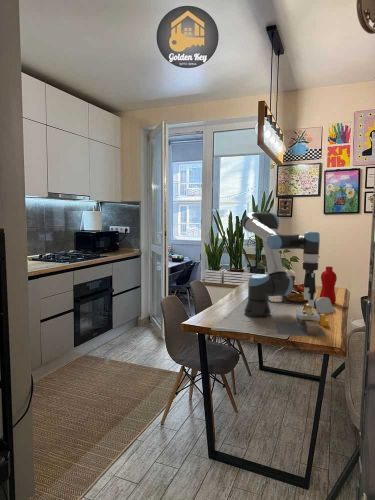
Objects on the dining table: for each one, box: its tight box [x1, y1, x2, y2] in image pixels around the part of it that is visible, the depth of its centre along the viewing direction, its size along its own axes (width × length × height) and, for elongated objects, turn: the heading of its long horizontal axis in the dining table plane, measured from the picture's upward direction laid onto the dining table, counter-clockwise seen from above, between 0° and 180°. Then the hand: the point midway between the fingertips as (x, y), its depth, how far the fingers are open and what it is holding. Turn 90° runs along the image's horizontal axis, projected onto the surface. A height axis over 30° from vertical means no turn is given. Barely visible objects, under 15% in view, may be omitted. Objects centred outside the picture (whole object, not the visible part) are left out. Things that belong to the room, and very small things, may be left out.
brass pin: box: [304, 302, 313, 315], centre depth 179 cm, size 4×4×12 cm
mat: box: [274, 320, 327, 338], centre depth 177 cm, size 22×23×1 cm
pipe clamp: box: [312, 308, 330, 327], centre depth 188 cm, size 12×4×6 cm, turn 5°
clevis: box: [295, 309, 321, 336], centre depth 176 cm, size 10×20×7 cm, turn 170°
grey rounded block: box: [312, 297, 336, 315], centre depth 212 cm, size 17×5×10 cm, turn 129°
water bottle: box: [319, 266, 338, 305], centre depth 236 cm, size 9×11×25 cm
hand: (308, 302), depth 179 cm, fingers open, 13 cm apart
